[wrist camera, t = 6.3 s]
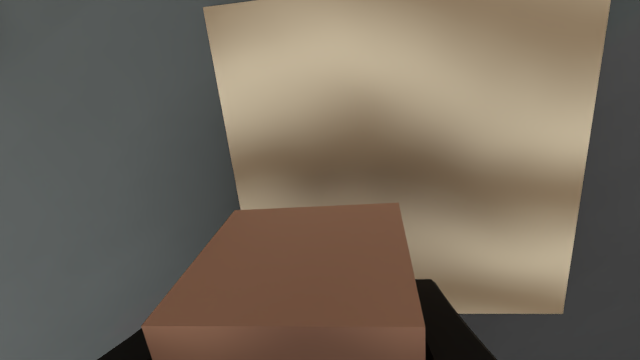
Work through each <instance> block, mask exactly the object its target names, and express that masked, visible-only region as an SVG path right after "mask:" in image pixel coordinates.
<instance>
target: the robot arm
mask: <svg viewBox="0 0 640 360" xmlns="http://www.w3.org/2000/svg"><path fill="white" fill-rule="evenodd" d="M415 281H416V286H417V291H418V295H419V300H420V305H421V309H422V314H423V318H424V323H425V354H426V360H497V359H496V358H495V357H494V356H493V355H492V354H491V352H490V351H489V350H488V349H487V348H486V347H485V346H484V344H483V343H482V342H481V341H480V340H479V339H478V337H477V336H476V335H475V334H474V333H473V332H472V330H471V329H470V328H469V327H468V326H467V324H466V323H465V322H464V321H463V319H462V318H461V317H460V316H459V314H458V313H457V312H456V311H455V309H454V308H453V307H452V305H451V304H450V303H449V301H448V300H447V299H446V297H445V296H444V294H443V293H442V292H441V290H440V289H439V287H438V286H437V284H436V283H435V282H434V281H433V280H432V279H415ZM98 360H152V357H151V354H150V351H149V348H148V345H147V342H146V339H145V336H144V333H143V330H142V328H141V329H140V330H139V331H137V332H136V333H135V334H133V335H132V336H131V337H129V338H128V339H126V340H125V341H123V342H122V343H121V344H119V345H118V346H116V347H115V348H113V349H112V350H111V351H109V352H108V353H106V354H105V355H103V356H102V357H101V358H99V359H98Z"/></svg>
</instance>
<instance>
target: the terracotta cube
mask: <svg viewBox="0 0 640 360" xmlns="http://www.w3.org/2000/svg"><path fill="white" fill-rule="evenodd" d="M141 327H142V330H143V333H144V336H145V339H146V342H147V345H148V348H149V351H150V354H151V357H152V360H426V354H425V323H424V318H423V314H422V309H421V305H420V300H419V295H418V291H417V286H416V281H415V277H414V272H413V267H412V263H411V258H410V253H409V249H408V244H407V239H406V235H405V230H404V225H403V221H402V216H401V211H400V207H399V203H379V204H358V205H337V206H315V207H294V208H272V209H251V210H234V212H233V213H232V214H231V215H230V217H229V218H228V219H227V220H226V222H225V223H224V224H223V225H222V227H221V228H220V229H219V230H218V232H217V233H216V234H215V235H214V236H213V238H212V239H211V240H210V241H209V243H208V244H207V245H206V246H205V248H204V249H203V250H202V251H201V253H200V254H199V255H198V256H197V258H196V259H195V260H194V261H193V263H192V264H191V265H190V266H189V267H188V269H187V270H186V271H185V272H184V274H183V275H182V276H181V277H180V279H179V280H178V281H177V282H176V284H175V285H174V286H173V287H172V289H171V290H170V291H169V292H168V294H167V295H166V296H165V297H164V298H163V300H162V301H161V302H160V303H159V305H158V306H157V307H156V308H155V310H154V311H153V312H152V313H151V315H150V316H149V317H148V318H147V320H146V321H145V322H144V323H143V325H142V326H141Z"/></svg>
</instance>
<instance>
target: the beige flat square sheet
mask: <svg viewBox="0 0 640 360" xmlns="http://www.w3.org/2000/svg"><path fill="white" fill-rule="evenodd" d="M610 2H611V0H256V1H249V2H241V3H233V4H225V5H217V6H210V7H203V10H204V16H205V21H206V26H207V32H208V37H209V42H210V48H211V53H212V59H213V64H214V69H215V75H216V80H217V85H218V91H219V96H220V101H221V107H222V112H223V118H224V123H225V128H226V134H227V139H228V144H229V150H230V155H231V160H232V166H233V171H234V177H235V182H236V187H237V193H238V198H239V203H240V209H241V210H251V209H272V208H294V207H315V206H337V205H358V204H379V203H399V207H400V211H401V216H402V221H403V225H404V230H405V235H406V239H407V244H408V249H409V253H410V258H411V263H412V267H413V272H414V277H415V279H432V280H433V281H434V282H435V283H436V284H437V286H438V287H439V289H440V290H441V292H442V293H443V294H444V296H445V297H446V299H447V300H448V301H449V303H450V304H451V305H452V307H453V308H454V309H455V311H456V312H457V313H458V314H563V309H564V302H565V296H566V289H567V283H568V276H569V270H570V263H571V257H572V250H573V244H574V237H575V230H576V224H577V217H578V211H579V204H580V198H581V191H582V185H583V178H584V172H585V165H586V159H587V152H588V145H589V139H590V132H591V126H592V119H593V113H594V106H595V100H596V93H597V87H598V80H599V73H600V67H601V60H602V54H603V47H604V41H605V34H606V28H607V21H608V15H609V8H610Z"/></svg>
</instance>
